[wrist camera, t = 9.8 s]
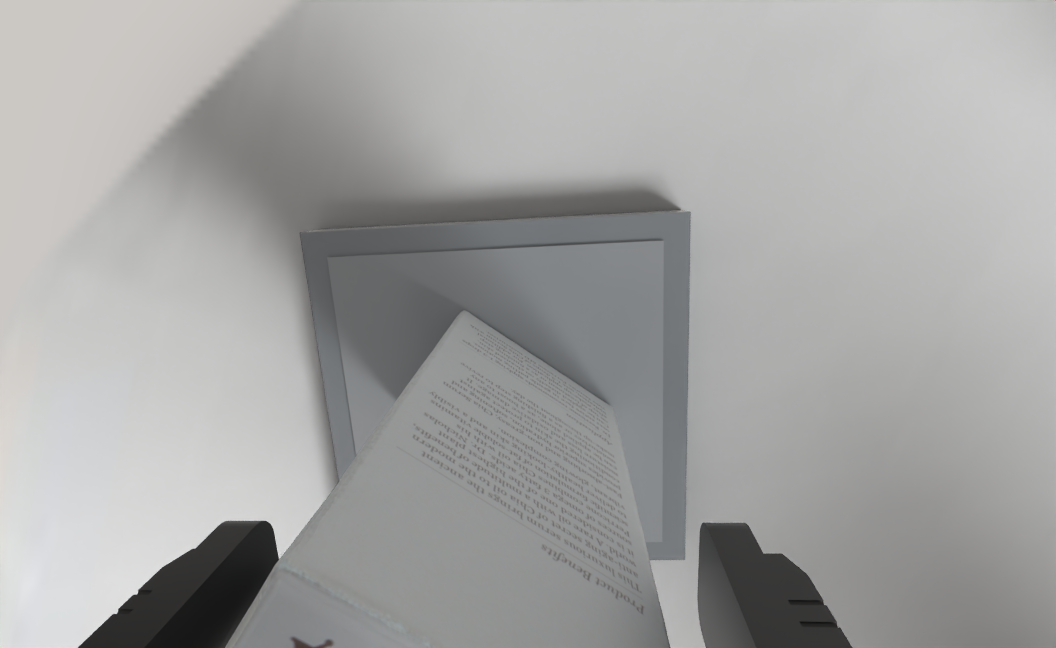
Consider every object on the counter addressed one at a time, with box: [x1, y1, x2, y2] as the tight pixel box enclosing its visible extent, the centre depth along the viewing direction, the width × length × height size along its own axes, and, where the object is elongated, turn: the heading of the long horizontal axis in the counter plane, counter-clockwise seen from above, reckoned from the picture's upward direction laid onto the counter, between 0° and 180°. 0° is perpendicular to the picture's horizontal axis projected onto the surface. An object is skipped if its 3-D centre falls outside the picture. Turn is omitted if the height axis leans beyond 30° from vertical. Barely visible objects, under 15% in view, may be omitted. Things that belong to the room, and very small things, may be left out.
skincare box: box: [225, 310, 670, 648], centre depth 12 cm, size 6×4×12 cm
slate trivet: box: [300, 210, 691, 560], centre depth 19 cm, size 12×12×1 cm
